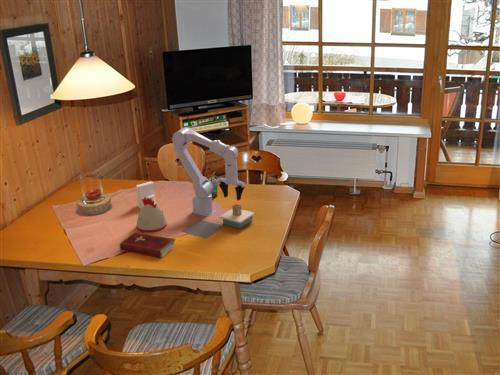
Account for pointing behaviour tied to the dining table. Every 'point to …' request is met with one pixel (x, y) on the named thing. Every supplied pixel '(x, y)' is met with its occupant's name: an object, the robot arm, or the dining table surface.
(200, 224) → the mat
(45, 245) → the dining table surface
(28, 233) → the dining table surface
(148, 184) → the base with upright slab
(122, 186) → the dining table surface
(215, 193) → the food container
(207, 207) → the robot arm
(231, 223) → the teal square tray
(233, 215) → the lid
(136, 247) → the hardcover book
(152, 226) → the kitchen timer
